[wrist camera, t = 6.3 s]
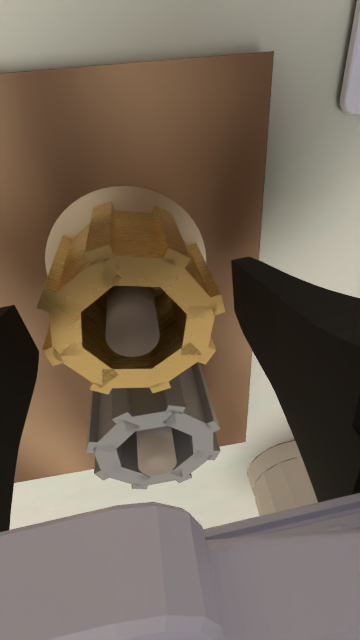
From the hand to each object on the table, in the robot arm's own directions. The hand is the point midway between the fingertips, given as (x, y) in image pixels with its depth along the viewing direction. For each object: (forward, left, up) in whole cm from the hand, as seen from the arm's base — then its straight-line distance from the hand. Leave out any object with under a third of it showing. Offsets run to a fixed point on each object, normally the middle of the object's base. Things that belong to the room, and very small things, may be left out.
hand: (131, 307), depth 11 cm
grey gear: (0, +7, -3) cm, 7 cm away
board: (+3, +3, -4) cm, 6 cm away
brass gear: (0, 0, -3) cm, 3 cm away
